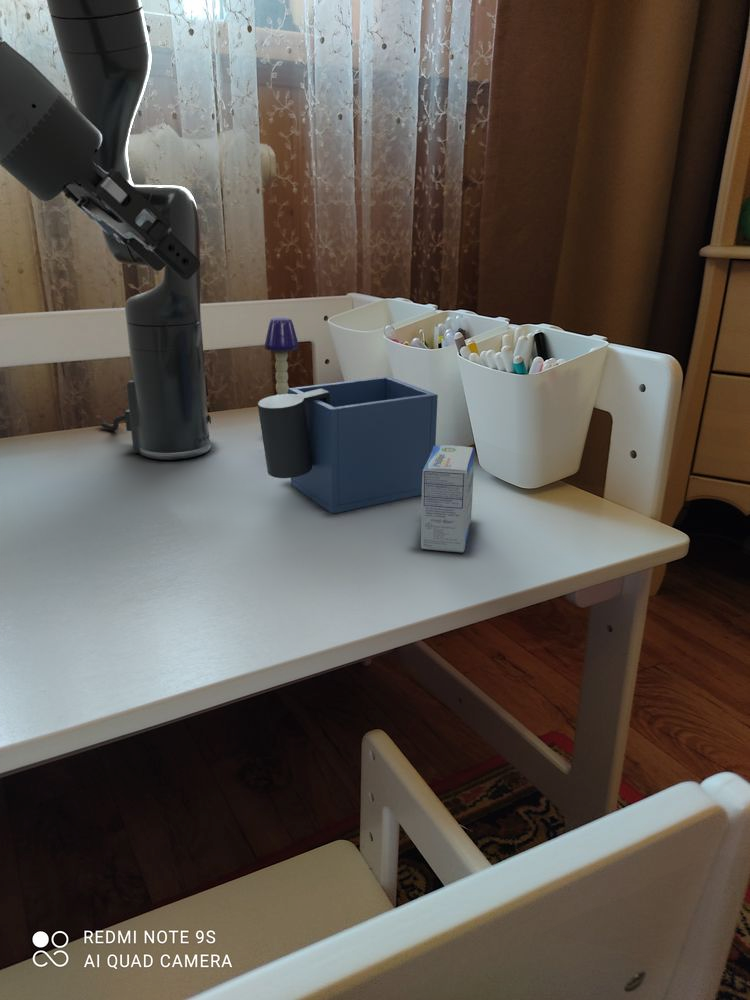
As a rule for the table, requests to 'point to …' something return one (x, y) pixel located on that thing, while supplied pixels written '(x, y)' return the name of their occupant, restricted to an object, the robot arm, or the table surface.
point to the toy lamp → (281, 348)
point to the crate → (367, 442)
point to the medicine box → (447, 498)
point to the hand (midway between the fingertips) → (178, 268)
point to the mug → (287, 432)
